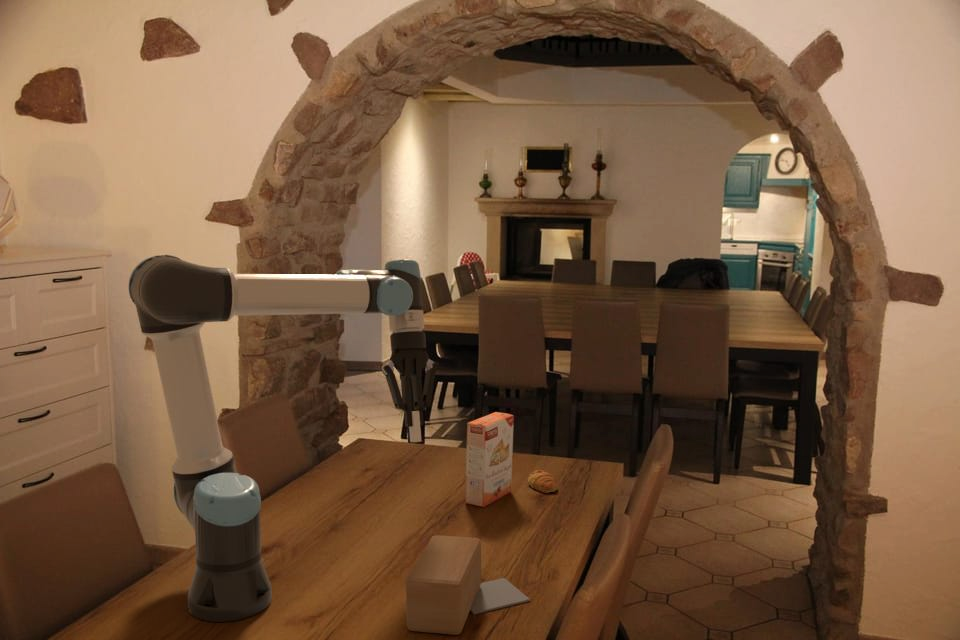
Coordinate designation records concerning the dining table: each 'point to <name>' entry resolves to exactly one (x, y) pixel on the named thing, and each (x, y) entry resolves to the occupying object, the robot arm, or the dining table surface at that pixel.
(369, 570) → the dining table surface
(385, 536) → the dining table surface
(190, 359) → the robot arm
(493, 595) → the felt pad
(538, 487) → the pastry
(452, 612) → the wooden block
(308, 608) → the dining table surface
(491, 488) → the cracker box
